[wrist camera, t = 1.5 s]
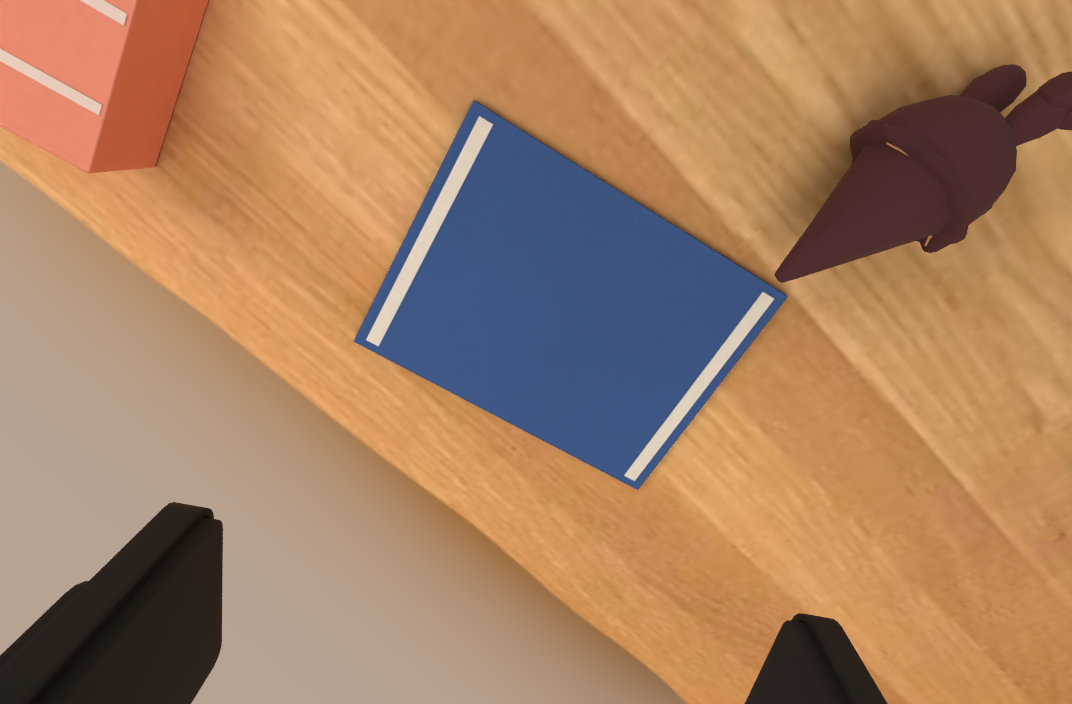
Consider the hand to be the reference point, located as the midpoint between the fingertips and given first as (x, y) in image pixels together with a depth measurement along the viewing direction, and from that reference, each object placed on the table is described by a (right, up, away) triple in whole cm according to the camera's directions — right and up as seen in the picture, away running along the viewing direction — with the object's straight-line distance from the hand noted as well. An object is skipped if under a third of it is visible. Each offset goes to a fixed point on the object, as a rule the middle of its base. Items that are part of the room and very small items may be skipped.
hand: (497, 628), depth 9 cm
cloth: (+2, +7, +24) cm, 25 cm away
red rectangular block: (-19, +21, +19) cm, 34 cm away
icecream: (+19, +14, +21) cm, 31 cm away
